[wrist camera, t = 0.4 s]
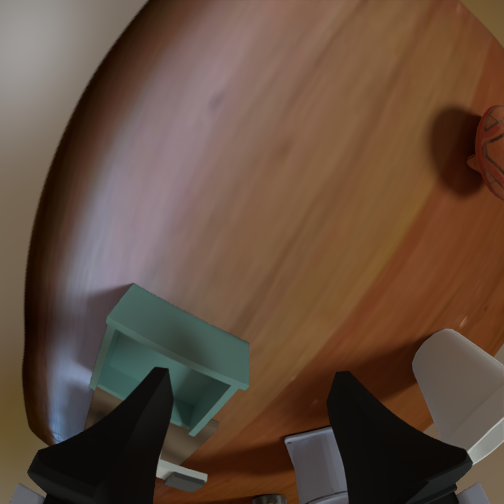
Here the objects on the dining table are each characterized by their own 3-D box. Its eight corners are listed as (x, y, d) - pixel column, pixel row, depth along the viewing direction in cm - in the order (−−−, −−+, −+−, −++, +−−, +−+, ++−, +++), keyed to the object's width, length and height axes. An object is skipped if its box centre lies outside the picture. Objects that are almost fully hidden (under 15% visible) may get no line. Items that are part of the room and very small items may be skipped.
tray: (165, 491, 25) (161, 517, 21) (90, 460, 24) (81, 486, 19) (217, 451, 21) (215, 490, 17) (110, 407, 19) (93, 445, 15)
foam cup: (411, 397, 26) (456, 478, 13) (387, 358, 23) (446, 462, 11) (472, 347, 24) (531, 414, 12) (459, 298, 22) (543, 373, 9)
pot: (514, 141, 16) (559, 161, 11) (480, 197, 20) (522, 229, 14) (474, 82, 15) (525, 89, 9) (436, 144, 19) (484, 167, 13)
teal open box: (196, 408, 25) (190, 447, 20) (103, 363, 23) (83, 398, 18) (248, 342, 22) (249, 385, 17) (133, 283, 20) (107, 315, 15)
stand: (167, 471, 30) (159, 512, 23) (84, 434, 27) (67, 473, 20) (218, 422, 25) (214, 481, 18) (102, 368, 23) (72, 423, 16)
